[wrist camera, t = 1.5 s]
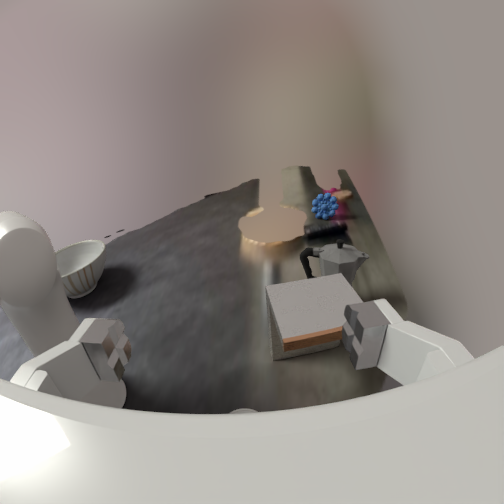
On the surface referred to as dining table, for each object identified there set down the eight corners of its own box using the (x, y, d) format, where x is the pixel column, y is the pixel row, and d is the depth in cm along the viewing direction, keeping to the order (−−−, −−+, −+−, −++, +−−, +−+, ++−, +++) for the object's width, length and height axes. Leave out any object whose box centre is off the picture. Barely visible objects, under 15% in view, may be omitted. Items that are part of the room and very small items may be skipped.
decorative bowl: (94, 313, 69) (79, 278, 64) (38, 310, 71) (23, 280, 65) (127, 266, 93) (117, 236, 87) (73, 270, 95) (63, 243, 89)
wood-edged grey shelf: (284, 404, 43) (283, 342, 35) (270, 350, 55) (265, 286, 47) (358, 385, 44) (377, 321, 36) (333, 336, 56) (341, 273, 49)
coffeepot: (361, 297, 67) (369, 233, 58) (361, 322, 59) (372, 252, 51) (302, 292, 71) (302, 229, 63) (296, 316, 64) (295, 247, 55)
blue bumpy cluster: (340, 217, 115) (340, 191, 110) (336, 223, 110) (337, 195, 105) (314, 214, 121) (314, 188, 115) (310, 220, 115) (309, 192, 110)
